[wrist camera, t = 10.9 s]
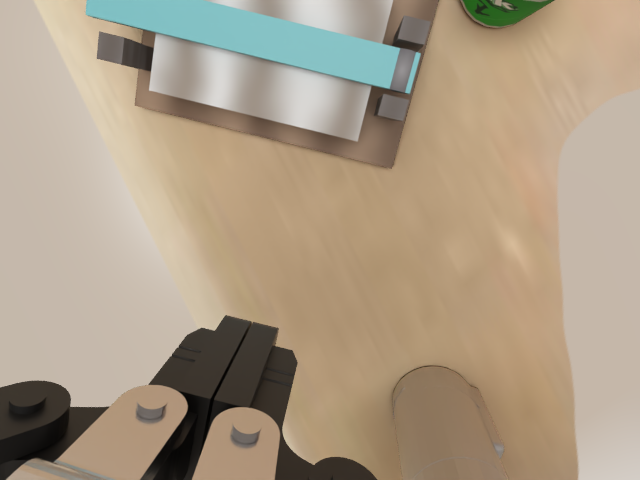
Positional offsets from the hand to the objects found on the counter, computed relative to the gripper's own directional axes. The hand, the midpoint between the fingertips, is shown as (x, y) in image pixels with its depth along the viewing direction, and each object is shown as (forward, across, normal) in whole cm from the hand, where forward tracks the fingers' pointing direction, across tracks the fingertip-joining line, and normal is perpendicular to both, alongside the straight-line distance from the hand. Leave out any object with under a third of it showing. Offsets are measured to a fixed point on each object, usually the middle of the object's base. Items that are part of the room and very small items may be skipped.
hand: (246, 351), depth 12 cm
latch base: (+35, +7, -11) cm, 37 cm away
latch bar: (+27, +8, -11) cm, 30 cm away
